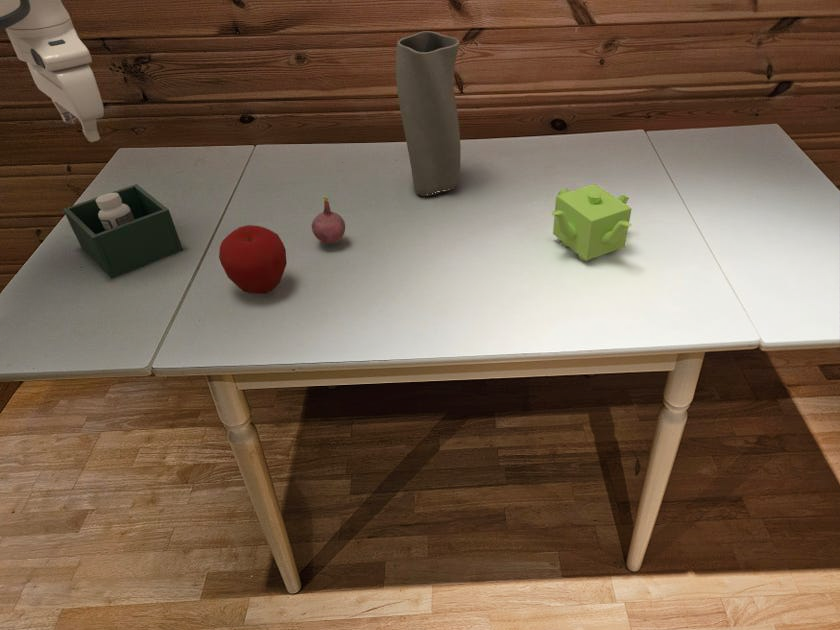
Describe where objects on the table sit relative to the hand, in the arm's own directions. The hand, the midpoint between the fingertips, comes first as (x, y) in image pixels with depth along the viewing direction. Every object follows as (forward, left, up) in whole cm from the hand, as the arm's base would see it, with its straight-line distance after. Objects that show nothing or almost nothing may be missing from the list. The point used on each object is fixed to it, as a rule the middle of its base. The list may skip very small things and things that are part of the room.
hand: (82, 131), depth 108 cm
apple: (+11, -28, -23) cm, 38 cm away
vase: (+57, -22, -23) cm, 66 cm away
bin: (0, 0, -23) cm, 23 cm away
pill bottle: (0, 0, -22) cm, 22 cm away
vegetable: (+28, -25, -23) cm, 44 cm away
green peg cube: (+62, -60, -23) cm, 89 cm away
